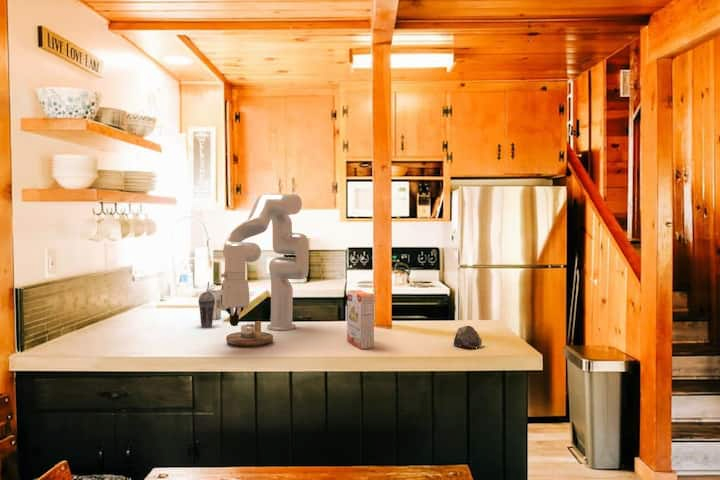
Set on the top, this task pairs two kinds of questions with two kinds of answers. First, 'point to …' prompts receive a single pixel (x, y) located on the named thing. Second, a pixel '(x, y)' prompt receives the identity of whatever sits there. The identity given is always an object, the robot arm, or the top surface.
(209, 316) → the beverage cup
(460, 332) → the dark rock
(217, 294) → the syrup box
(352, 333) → the cracker box
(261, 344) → the turntable base
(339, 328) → the top surface
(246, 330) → the cover
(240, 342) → the turntable
